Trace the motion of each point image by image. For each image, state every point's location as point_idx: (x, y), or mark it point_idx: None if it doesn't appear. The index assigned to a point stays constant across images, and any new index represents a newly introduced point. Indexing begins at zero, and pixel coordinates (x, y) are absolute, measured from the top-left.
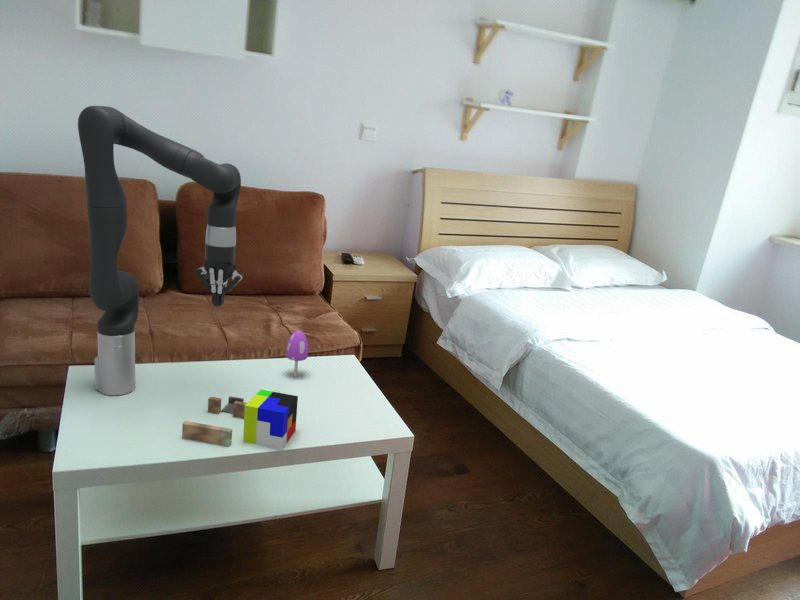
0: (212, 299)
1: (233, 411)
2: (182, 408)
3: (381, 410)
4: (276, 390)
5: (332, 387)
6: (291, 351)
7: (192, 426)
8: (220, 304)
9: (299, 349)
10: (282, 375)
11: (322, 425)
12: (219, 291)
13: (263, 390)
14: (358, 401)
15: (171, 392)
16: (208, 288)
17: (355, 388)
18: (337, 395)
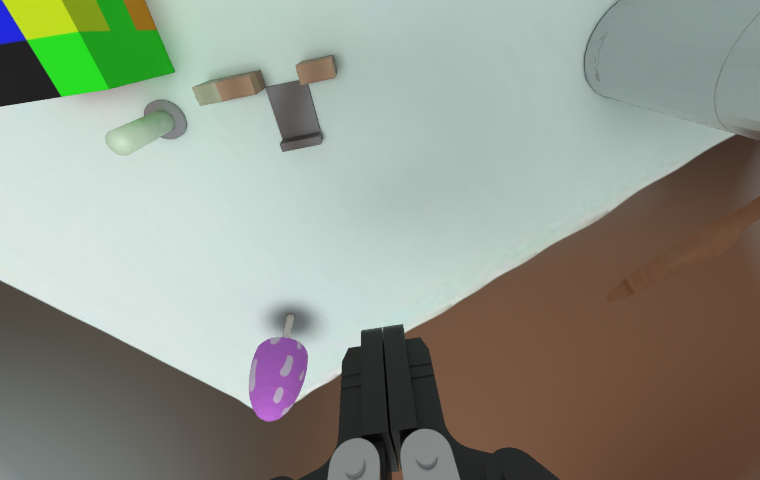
0: (426, 367)
1: (255, 72)
2: (407, 37)
3: (30, 283)
4: (126, 153)
5: (194, 314)
6: (276, 355)
7: None
8: (352, 351)
9: (256, 366)
10: (314, 307)
11: (51, 154)
12: (352, 468)
13: (93, 85)
14: (102, 292)
15: (484, 109)
16: (493, 465)
17: (156, 331)
18: (157, 292)
